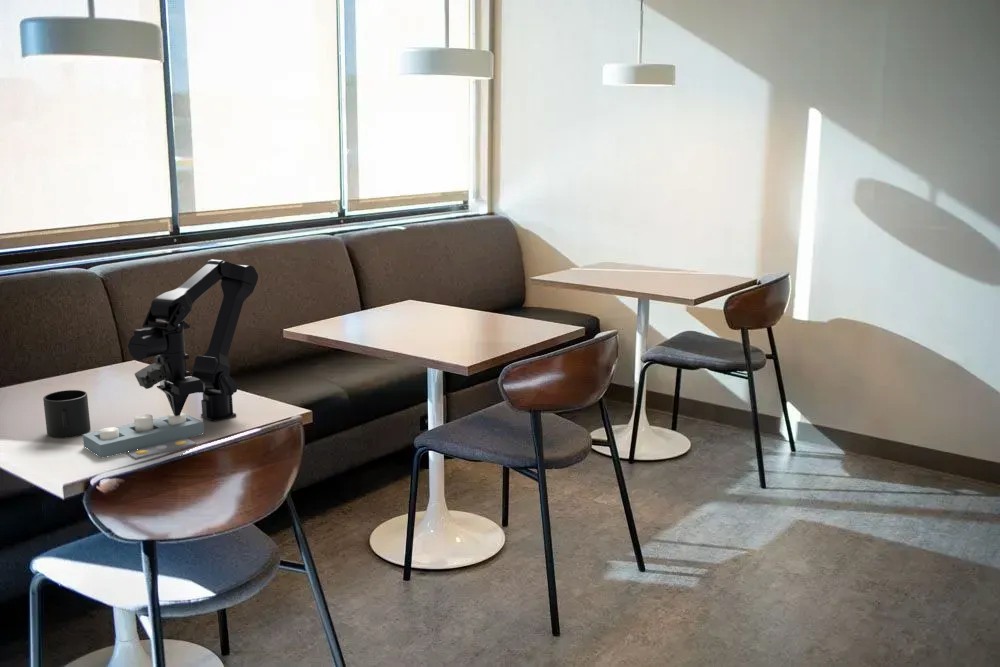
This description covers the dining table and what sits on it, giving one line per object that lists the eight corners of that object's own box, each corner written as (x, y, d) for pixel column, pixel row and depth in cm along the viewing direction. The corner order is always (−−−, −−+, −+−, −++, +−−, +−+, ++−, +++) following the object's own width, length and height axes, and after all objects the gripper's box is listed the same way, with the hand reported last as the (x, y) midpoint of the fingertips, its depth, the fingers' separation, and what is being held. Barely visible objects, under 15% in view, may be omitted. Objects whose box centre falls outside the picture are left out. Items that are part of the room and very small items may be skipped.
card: (185, 439, 224) (185, 437, 224) (196, 444, 221) (195, 442, 221) (126, 453, 215) (125, 451, 215) (135, 459, 212) (135, 457, 211)
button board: (184, 424, 236) (183, 412, 235) (204, 433, 229) (203, 421, 228) (84, 447, 220) (82, 434, 219) (101, 458, 212) (100, 445, 212)
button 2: (182, 426, 232) (181, 411, 231) (189, 430, 229) (188, 415, 228) (166, 429, 229) (164, 415, 229) (173, 433, 226) (172, 418, 226)
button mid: (149, 428, 226) (147, 413, 226) (156, 432, 224) (155, 417, 223) (132, 431, 224) (131, 416, 223) (139, 436, 221) (138, 420, 220)
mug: (44, 444, 222) (39, 405, 220) (49, 428, 233) (45, 391, 231) (88, 439, 225) (85, 401, 223) (91, 424, 236) (88, 388, 234)
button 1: (115, 441, 221) (114, 426, 220) (122, 445, 218) (121, 430, 218) (97, 445, 219) (96, 430, 218) (105, 449, 216) (103, 434, 215)
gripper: (120, 349, 226) (126, 413, 230) (156, 364, 213) (161, 432, 216) (166, 341, 234) (171, 404, 237) (203, 355, 220) (208, 421, 224)
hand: (177, 415), depth 228 cm, fingers closed, pressing on button 2
